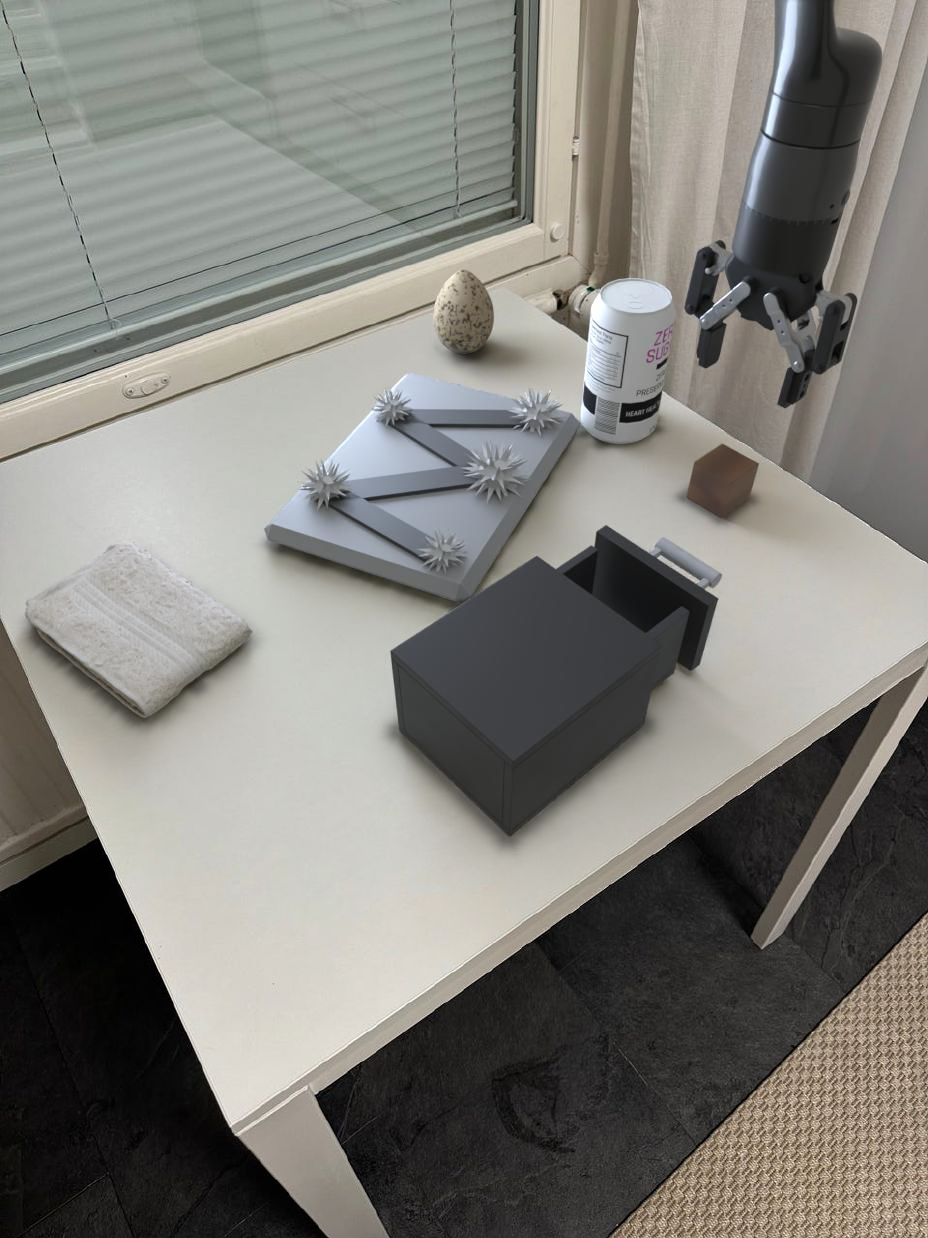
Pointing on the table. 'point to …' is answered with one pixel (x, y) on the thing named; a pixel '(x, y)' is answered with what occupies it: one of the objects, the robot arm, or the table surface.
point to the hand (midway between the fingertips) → (746, 383)
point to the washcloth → (135, 626)
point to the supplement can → (626, 359)
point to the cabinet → (523, 690)
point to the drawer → (651, 594)
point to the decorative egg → (463, 313)
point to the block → (722, 480)
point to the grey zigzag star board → (428, 484)
